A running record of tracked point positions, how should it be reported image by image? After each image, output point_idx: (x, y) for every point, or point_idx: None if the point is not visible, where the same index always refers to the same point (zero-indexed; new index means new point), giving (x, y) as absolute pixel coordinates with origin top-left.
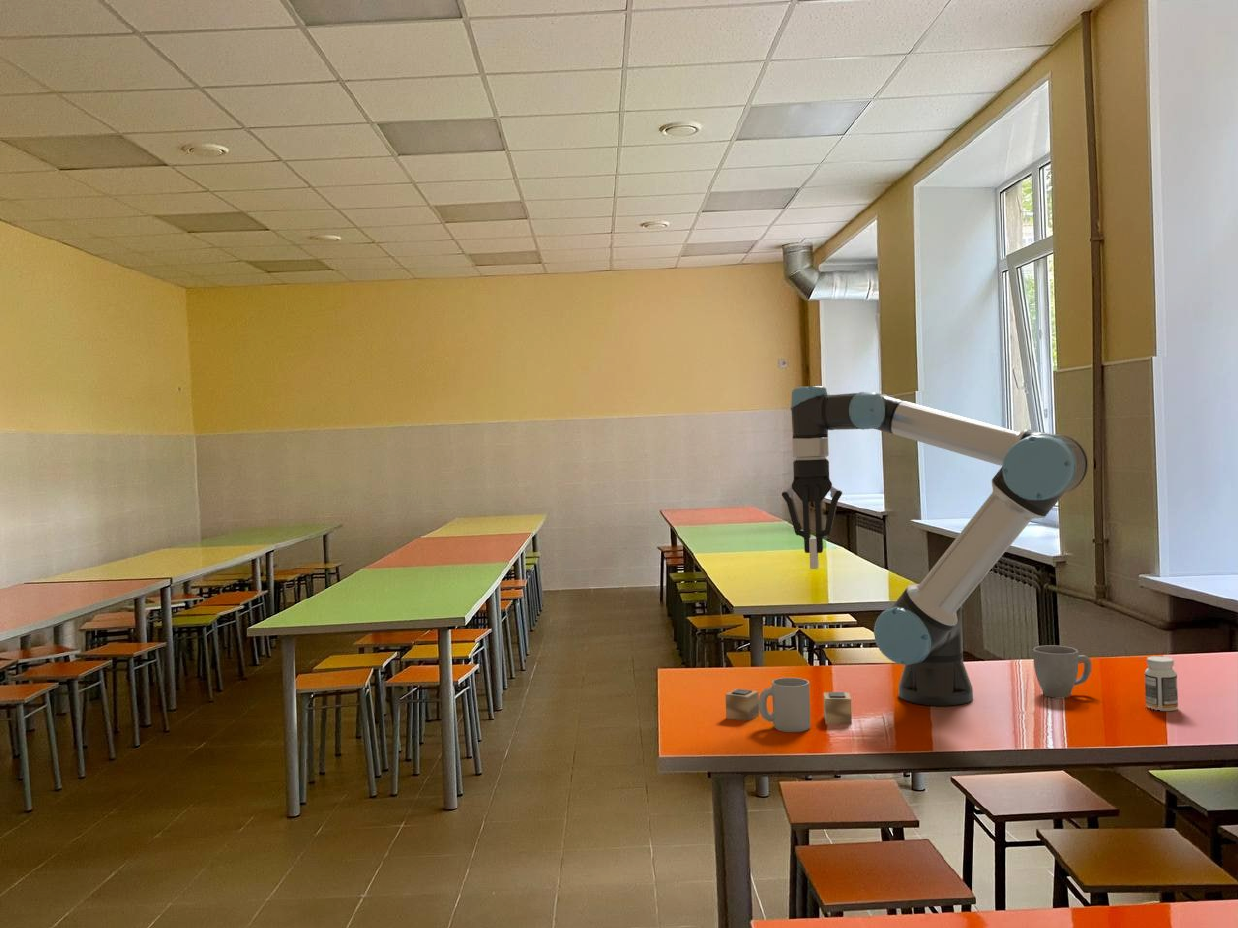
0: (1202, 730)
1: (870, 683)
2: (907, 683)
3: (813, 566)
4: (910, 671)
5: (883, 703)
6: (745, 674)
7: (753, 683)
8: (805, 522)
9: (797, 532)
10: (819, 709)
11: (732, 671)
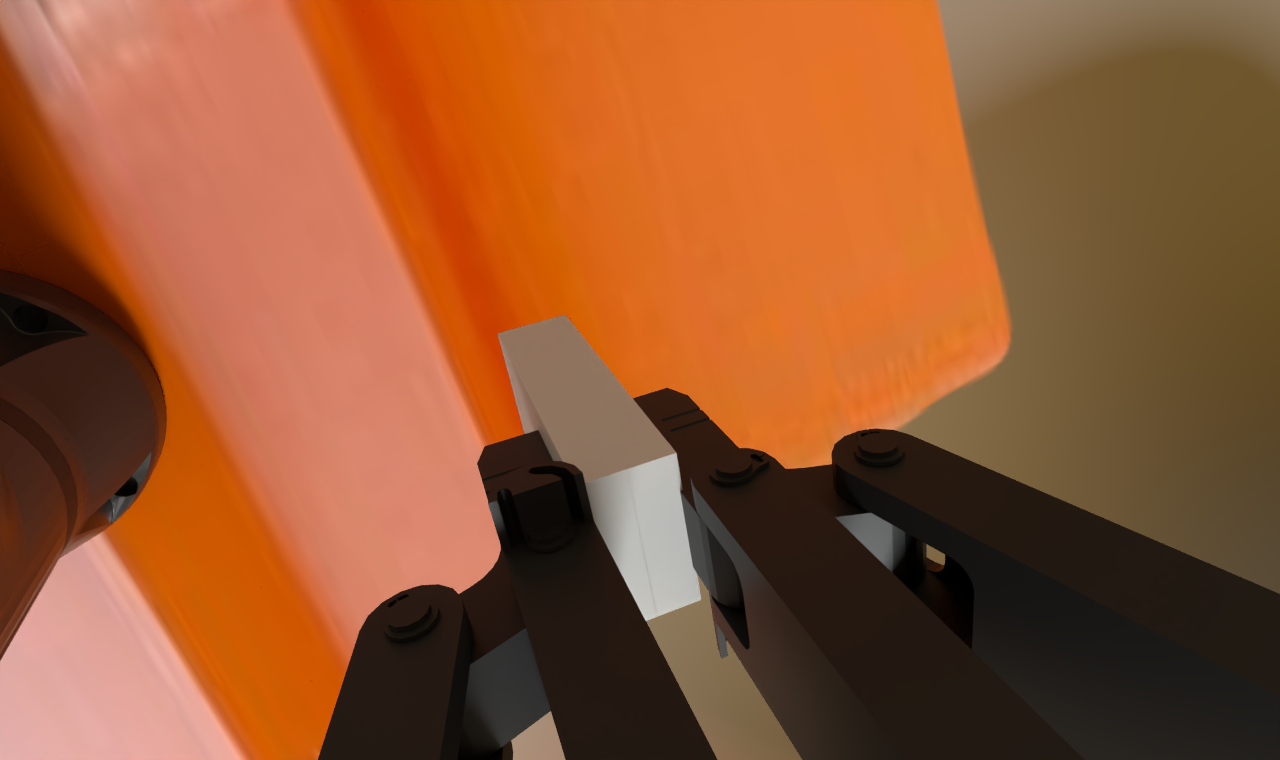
0: None
1: (345, 485)
2: (53, 337)
3: (538, 333)
4: (13, 358)
5: (157, 232)
6: (784, 401)
7: (728, 305)
8: (863, 595)
9: (885, 443)
10: (367, 35)
11: (832, 416)
